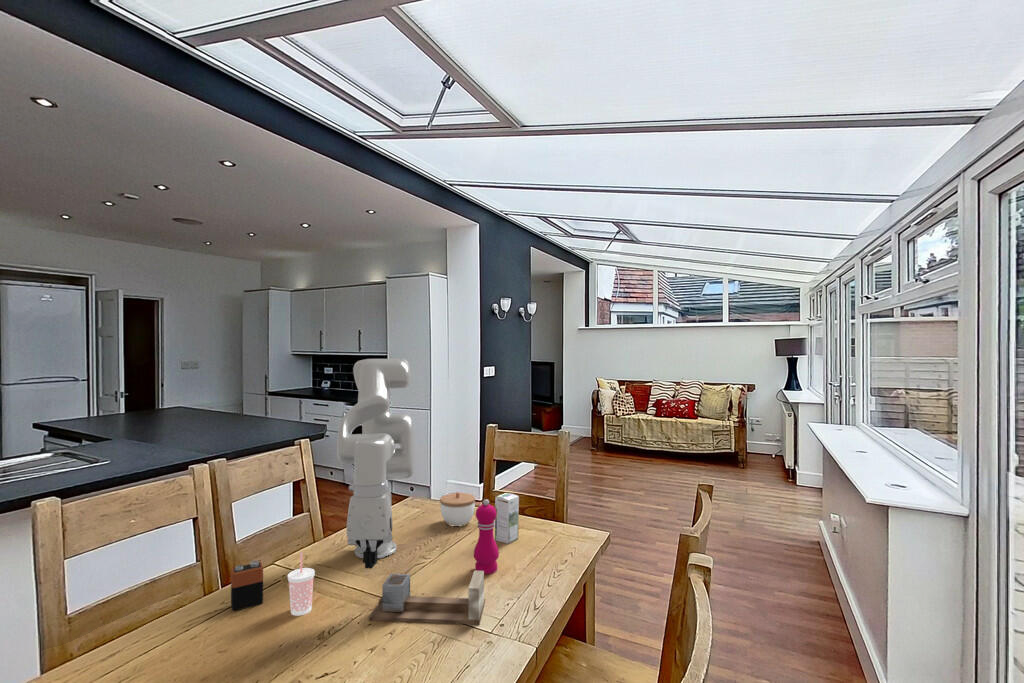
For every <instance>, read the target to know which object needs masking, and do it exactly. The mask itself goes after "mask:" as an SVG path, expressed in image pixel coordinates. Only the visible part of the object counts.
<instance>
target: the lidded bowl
mask: <svg viewBox="0 0 1024 683" xmlns="http://www.w3.org/2000/svg"><path fill="white" fill-rule="evenodd" d="M439 501H440V502H439V503H440V513H441V516H442V519H443V520H444V521H445V522H446V523H447V525H448V524H450V525H454V526H459V525H464V524H466V523H468V524H469V522H470V521H471V520H472V518H473V516H474V514H475V506H476V505H475V504H476V496H474V495H473V494H470V493H468V492H467V493H466V492H459V491H457V492H454V493H452V492H451V493H448V494H445V495H442V496H441V497H440V499H439Z"/></svg>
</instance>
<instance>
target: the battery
mask: <svg viewBox="0 0 1024 683" xmlns="http://www.w3.org/2000/svg"><path fill="white" fill-rule="evenodd" d="M230 604H231V609H232V611H239V610H243V609H247V608H250V607H254V606H258V605H262V604H264V566H263V564H262V562H261V561H259V560H253V561H250V562H249V564H248V563H247V564H244V565H243V564H238V565H236V566H234V567H232V568H231V570H230Z"/></svg>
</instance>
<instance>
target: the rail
mask: <svg viewBox="0 0 1024 683" xmlns="http://www.w3.org/2000/svg"><path fill="white" fill-rule="evenodd" d="M485 604H486V599H485V574H484V571H476V570H474V571H473V573H472V576H471V580H470V583H469V585H468V597H446V596H445V597H444V596H443V597H442V596H418V595H417V596H415V595H413V596H412V595H410V597H407V598H406V600H405V610H404V611H403V612H389V611H382V596H381V597H380V598H379V600H378V603H377V604H376V605H375V607H374V608H373V610H372V612H371V613H370V615H369V616H368V618H369V619H368V620H369V621H380V622H381V621H382V622H383V621H384V622H385V621H386V622H408V623H430V624H433V623H435V624H455V625H457V624H459V625H480V624H481V620H482V616H483V612H484V608H485Z"/></svg>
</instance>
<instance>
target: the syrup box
mask: <svg viewBox="0 0 1024 683" xmlns="http://www.w3.org/2000/svg"><path fill="white" fill-rule="evenodd" d="M519 502H520V496H519V495H518V494H517V495H516V494H514V493H509V492H505V493H502V494H499V495H497V496H495V499H494V508H495V509H496V512H497V515H496V518H495V520H494V522H495V527H494V539H495V542H496V541H497V542H501V543H504V544H511V543H513V542H514V541H516V540H518V539H519V523H520V520H519V518H520V515H519V512H520V510H519V507H520V503H519Z"/></svg>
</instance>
